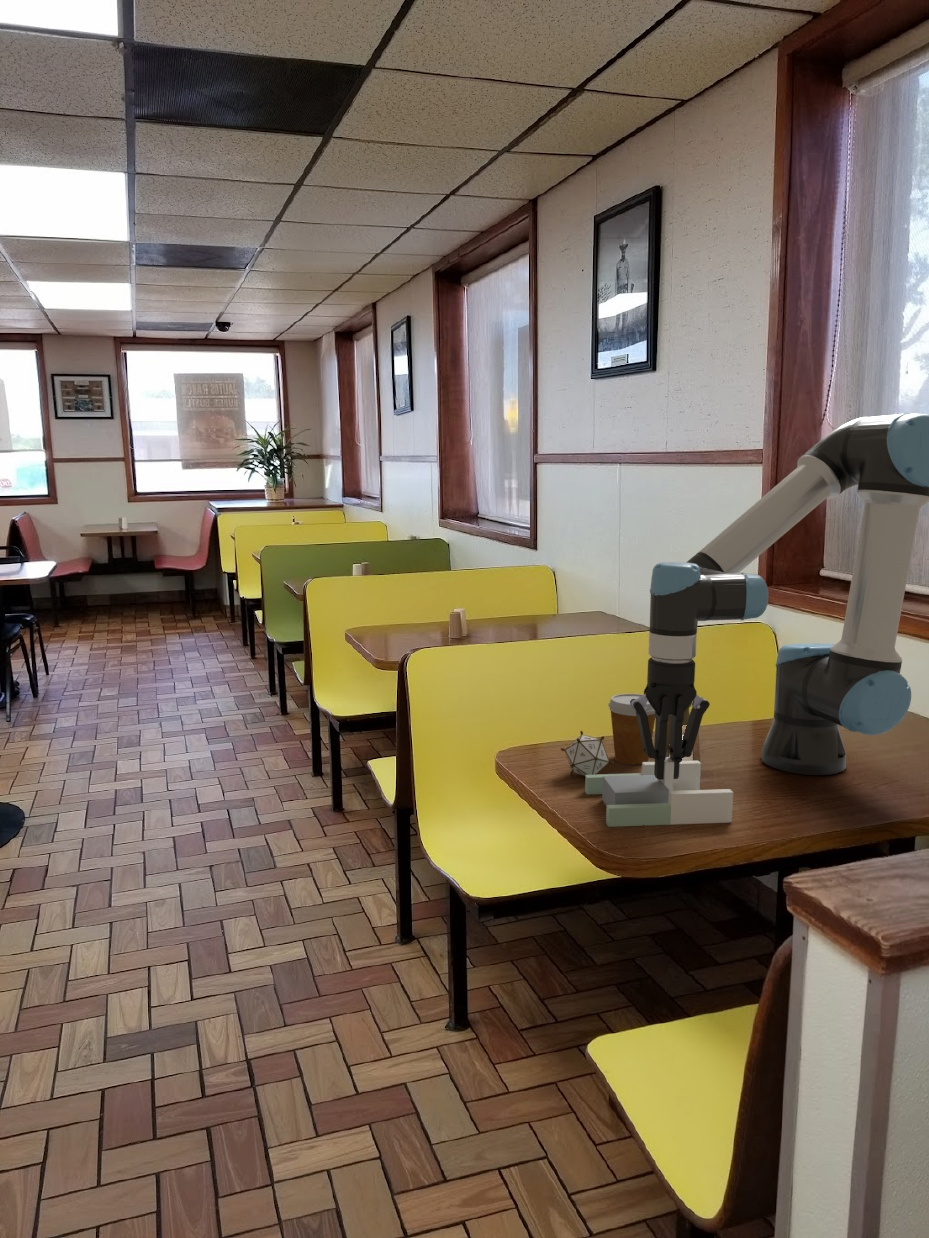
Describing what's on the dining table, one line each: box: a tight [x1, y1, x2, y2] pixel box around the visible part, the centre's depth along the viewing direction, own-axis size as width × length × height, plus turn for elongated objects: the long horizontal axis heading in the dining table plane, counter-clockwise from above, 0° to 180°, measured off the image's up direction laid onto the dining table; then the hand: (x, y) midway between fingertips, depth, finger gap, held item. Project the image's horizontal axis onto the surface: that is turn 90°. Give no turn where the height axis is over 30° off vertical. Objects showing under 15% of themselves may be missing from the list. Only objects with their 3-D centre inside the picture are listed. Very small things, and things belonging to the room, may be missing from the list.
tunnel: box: [584, 760, 734, 828], centre depth 154 cm, size 20×16×5 cm
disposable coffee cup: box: [607, 693, 656, 766], centre depth 178 cm, size 10×10×12 cm
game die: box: [560, 730, 614, 777], centre depth 168 cm, size 9×8×10 cm
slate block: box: [601, 775, 670, 806], centre depth 154 cm, size 9×8×4 cm
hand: (665, 797), depth 155 cm, fingers closed
